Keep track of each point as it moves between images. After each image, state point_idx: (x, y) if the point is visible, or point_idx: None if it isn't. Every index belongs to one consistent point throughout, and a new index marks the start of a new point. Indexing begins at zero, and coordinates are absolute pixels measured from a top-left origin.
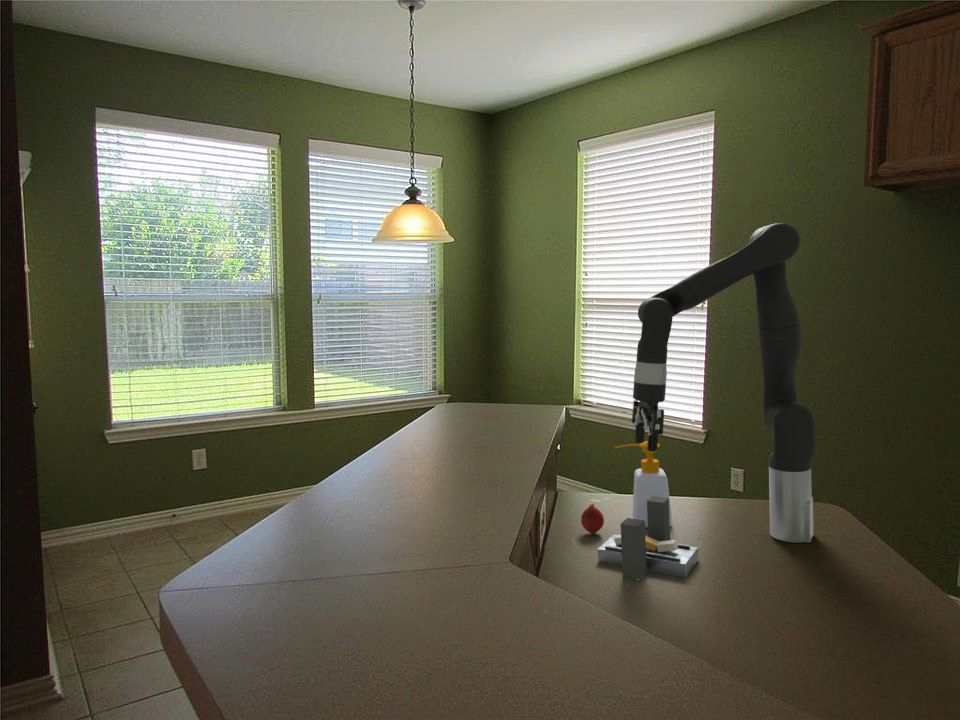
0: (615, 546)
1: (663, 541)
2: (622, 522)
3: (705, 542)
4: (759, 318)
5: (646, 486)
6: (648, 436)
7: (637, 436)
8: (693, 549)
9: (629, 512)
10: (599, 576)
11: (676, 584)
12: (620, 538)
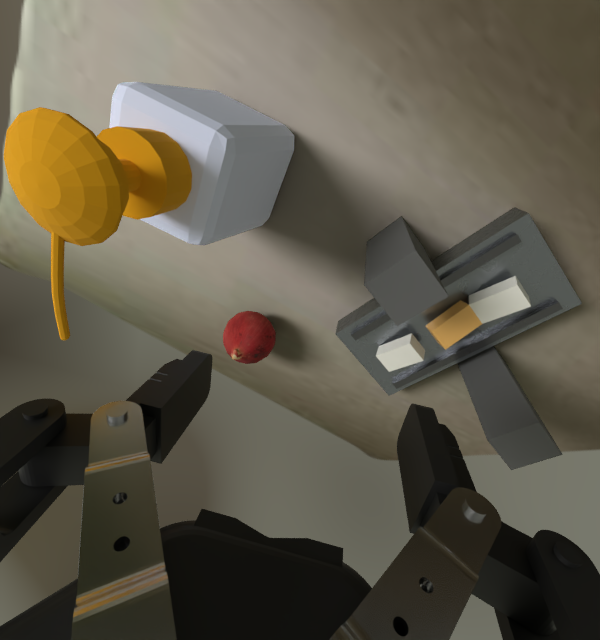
0: None
1: (482, 302)
2: (506, 462)
3: (432, 105)
4: None
5: (229, 217)
6: (418, 526)
7: (191, 411)
8: (529, 231)
9: None
10: (444, 407)
11: (573, 323)
12: (402, 365)
